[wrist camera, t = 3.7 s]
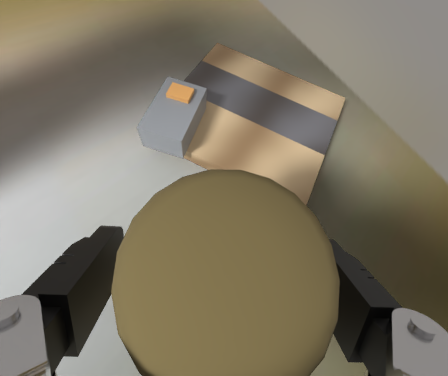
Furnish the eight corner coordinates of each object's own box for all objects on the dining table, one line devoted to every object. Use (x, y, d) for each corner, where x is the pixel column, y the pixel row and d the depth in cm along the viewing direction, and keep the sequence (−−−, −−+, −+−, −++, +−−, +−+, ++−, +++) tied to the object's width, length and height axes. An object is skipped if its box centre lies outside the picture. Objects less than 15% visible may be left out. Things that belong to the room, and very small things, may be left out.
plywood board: (145, 138, 18) (142, 128, 17) (216, 54, 23) (217, 42, 22) (298, 214, 17) (305, 209, 16) (338, 107, 22) (345, 98, 21)
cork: (155, 244, 15) (67, 142, 5) (245, 228, 16) (325, 118, 6) (164, 355, 12) (27, 604, 2) (269, 328, 13) (471, 425, 4)
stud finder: (143, 145, 16) (135, 124, 14) (170, 97, 18) (167, 72, 16) (183, 158, 16) (181, 138, 14) (206, 108, 18) (207, 84, 16)
